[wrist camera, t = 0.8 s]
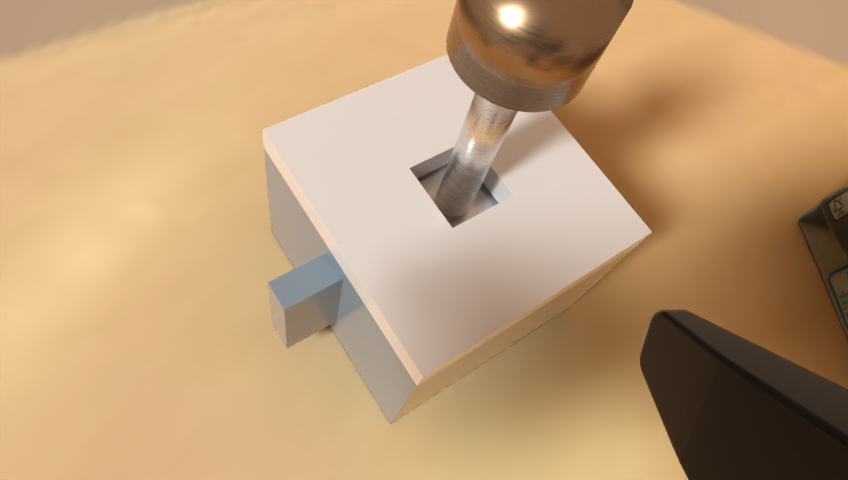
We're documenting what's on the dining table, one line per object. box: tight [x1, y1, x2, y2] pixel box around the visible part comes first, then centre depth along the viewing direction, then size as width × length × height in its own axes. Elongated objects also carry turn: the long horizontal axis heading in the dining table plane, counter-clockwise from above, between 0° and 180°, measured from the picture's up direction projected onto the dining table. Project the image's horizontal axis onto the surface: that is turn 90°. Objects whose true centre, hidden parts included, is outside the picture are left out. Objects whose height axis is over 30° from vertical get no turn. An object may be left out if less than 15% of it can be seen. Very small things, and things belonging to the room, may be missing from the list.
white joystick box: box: [262, 54, 652, 424], centre depth 23 cm, size 9×11×7 cm
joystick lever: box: [417, 0, 633, 228], centre depth 17 cm, size 7×7×10 cm
